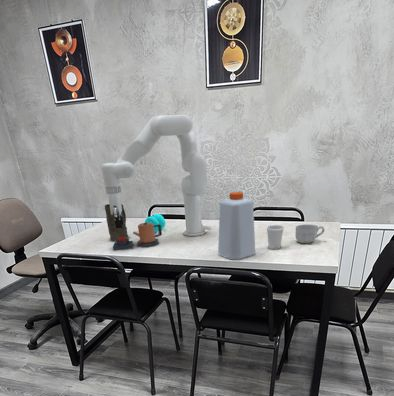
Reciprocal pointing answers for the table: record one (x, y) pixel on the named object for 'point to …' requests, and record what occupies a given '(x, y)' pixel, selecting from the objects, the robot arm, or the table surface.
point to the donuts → (156, 221)
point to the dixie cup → (274, 236)
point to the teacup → (307, 233)
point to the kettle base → (148, 243)
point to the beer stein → (114, 231)
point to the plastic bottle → (236, 227)
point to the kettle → (147, 232)
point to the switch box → (123, 245)
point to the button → (122, 239)
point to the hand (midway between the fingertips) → (119, 226)
